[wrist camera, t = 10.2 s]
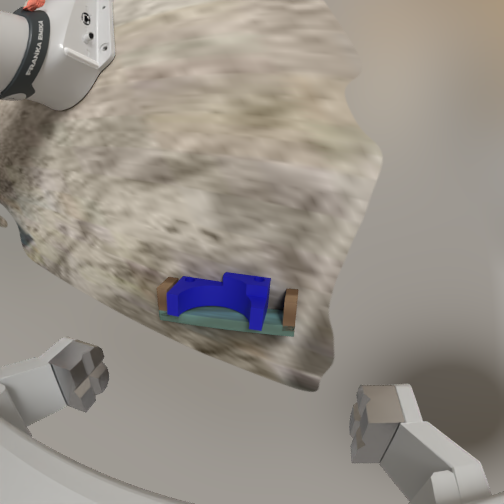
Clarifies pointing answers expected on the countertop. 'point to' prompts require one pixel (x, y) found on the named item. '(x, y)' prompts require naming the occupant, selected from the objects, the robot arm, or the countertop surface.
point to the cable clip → (223, 296)
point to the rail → (231, 314)
